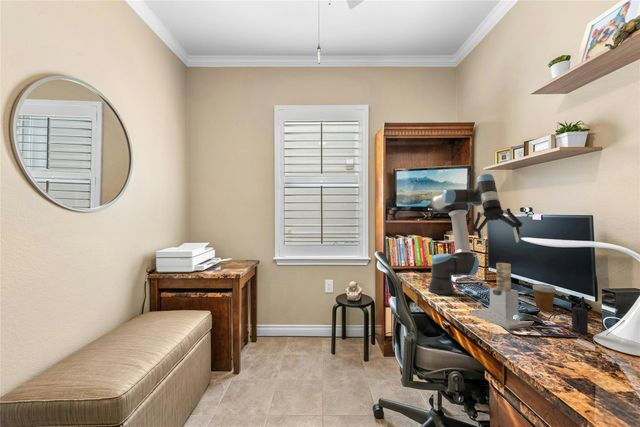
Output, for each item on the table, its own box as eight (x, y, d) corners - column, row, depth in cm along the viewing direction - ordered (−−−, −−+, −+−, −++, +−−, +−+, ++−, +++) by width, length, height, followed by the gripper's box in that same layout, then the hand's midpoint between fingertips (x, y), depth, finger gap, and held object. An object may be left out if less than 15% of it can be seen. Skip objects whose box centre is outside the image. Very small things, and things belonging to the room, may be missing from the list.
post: (495, 314, 136) (495, 263, 136) (502, 313, 137) (502, 262, 137) (504, 317, 132) (504, 264, 132) (511, 316, 133) (511, 264, 133)
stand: (469, 314, 141) (469, 286, 141) (499, 309, 147) (499, 282, 147) (508, 329, 122) (508, 297, 122) (541, 323, 129) (540, 292, 129)
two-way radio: (590, 334, 116) (590, 297, 116) (580, 335, 116) (580, 297, 116) (576, 329, 122) (576, 293, 122) (567, 329, 121) (567, 294, 121)
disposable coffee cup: (528, 308, 149) (528, 284, 149) (539, 305, 153) (539, 282, 153) (549, 313, 141) (549, 289, 141) (560, 311, 145) (560, 287, 145)
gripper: (462, 202, 144) (470, 242, 135) (521, 194, 134) (534, 237, 125) (462, 209, 150) (470, 248, 141) (519, 202, 140) (531, 243, 131)
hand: (500, 243), depth 133 cm, fingers open, 13 cm apart
